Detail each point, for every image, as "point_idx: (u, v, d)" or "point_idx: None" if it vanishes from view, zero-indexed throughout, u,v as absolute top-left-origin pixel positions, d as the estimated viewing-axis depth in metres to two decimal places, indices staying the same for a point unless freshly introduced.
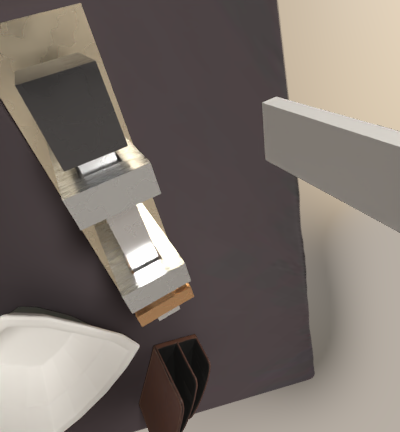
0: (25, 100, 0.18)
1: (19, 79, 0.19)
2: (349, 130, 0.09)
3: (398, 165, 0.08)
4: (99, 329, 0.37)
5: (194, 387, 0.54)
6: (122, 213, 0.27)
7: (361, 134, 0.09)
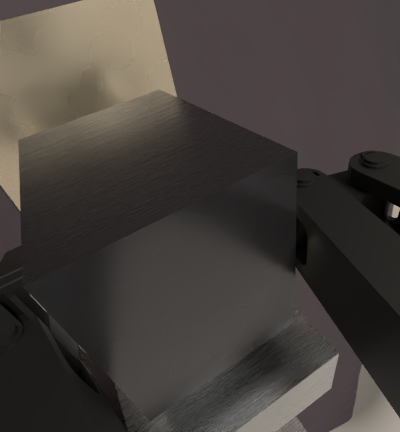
0: (62, 317, 0.05)
1: (36, 214, 0.06)
2: None
3: None
4: None
5: None
6: None
7: None
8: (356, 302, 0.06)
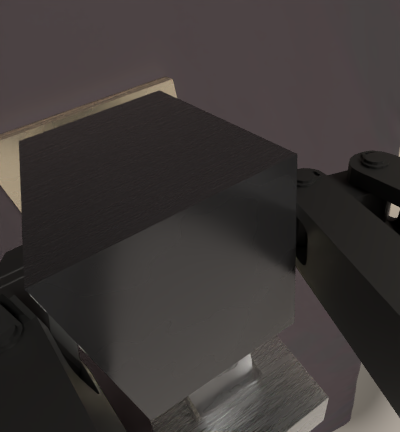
0: (63, 319, 0.05)
1: (37, 216, 0.06)
2: None
3: None
4: None
5: None
6: (229, 397, 0.14)
7: None
8: (356, 302, 0.06)
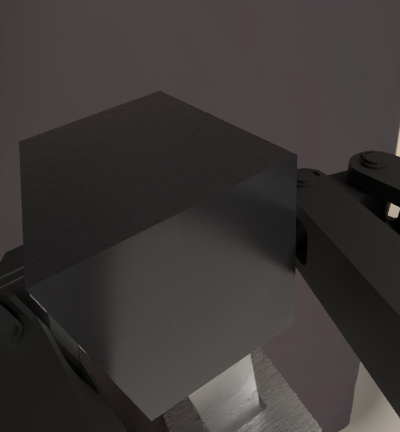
0: (64, 319, 0.05)
1: (38, 217, 0.06)
2: None
3: None
4: None
5: None
6: (229, 397, 0.14)
7: None
8: (356, 302, 0.06)
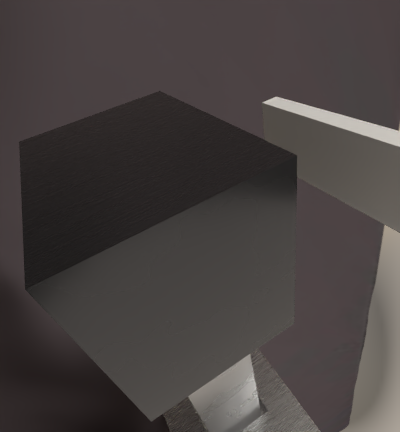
0: (64, 319, 0.05)
1: (38, 217, 0.06)
2: (349, 130, 0.09)
3: (398, 165, 0.08)
4: None
5: None
6: (229, 398, 0.14)
7: (361, 134, 0.09)
8: None
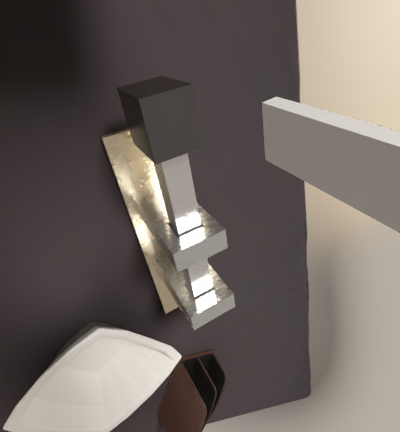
0: (142, 110, 0.25)
1: (135, 94, 0.25)
2: (349, 130, 0.09)
3: (398, 165, 0.08)
4: (157, 341, 0.48)
5: (213, 395, 0.63)
6: (184, 202, 0.33)
7: (361, 134, 0.09)
8: None
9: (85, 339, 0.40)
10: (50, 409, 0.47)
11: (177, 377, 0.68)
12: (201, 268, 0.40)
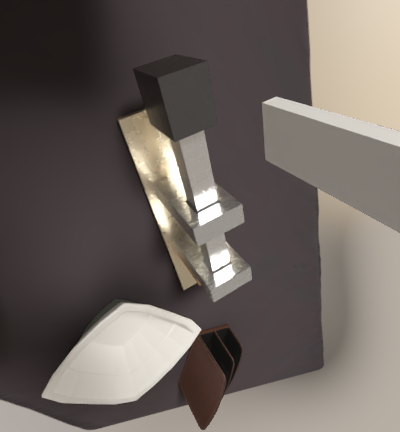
0: (161, 88, 0.25)
1: (153, 74, 0.26)
2: (349, 130, 0.09)
3: (398, 165, 0.08)
4: (178, 315, 0.51)
5: (231, 365, 0.67)
6: (202, 179, 0.34)
7: (361, 134, 0.09)
8: None
9: (112, 313, 0.43)
10: (82, 379, 0.51)
11: (196, 350, 0.71)
12: (219, 243, 0.41)
